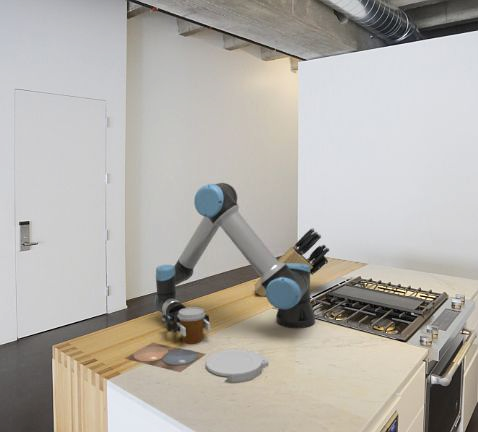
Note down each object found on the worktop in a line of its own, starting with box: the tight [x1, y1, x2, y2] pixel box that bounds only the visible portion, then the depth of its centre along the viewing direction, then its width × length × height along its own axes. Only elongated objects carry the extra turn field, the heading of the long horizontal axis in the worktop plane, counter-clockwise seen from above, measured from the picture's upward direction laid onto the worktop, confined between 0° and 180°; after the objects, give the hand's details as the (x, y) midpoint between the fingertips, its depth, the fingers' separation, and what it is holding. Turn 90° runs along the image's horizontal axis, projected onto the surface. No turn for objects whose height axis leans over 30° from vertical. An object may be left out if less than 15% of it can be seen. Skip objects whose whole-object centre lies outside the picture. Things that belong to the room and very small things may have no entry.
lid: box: [205, 348, 269, 383], centre depth 134 cm, size 17×20×3 cm
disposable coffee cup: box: [178, 306, 206, 345], centre depth 152 cm, size 10×10×12 cm
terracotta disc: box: [133, 346, 168, 362], centre depth 142 cm, size 11×11×1 cm
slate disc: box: [162, 348, 197, 366], centre depth 139 cm, size 11×11×1 cm
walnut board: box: [123, 342, 207, 373], centre depth 140 cm, size 22×14×2 cm, turn 61°
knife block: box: [254, 227, 330, 297], centre depth 210 cm, size 11×35×31 cm, turn 89°
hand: (197, 329), depth 148 cm, fingers closed on disposable coffee cup, 8 cm apart
